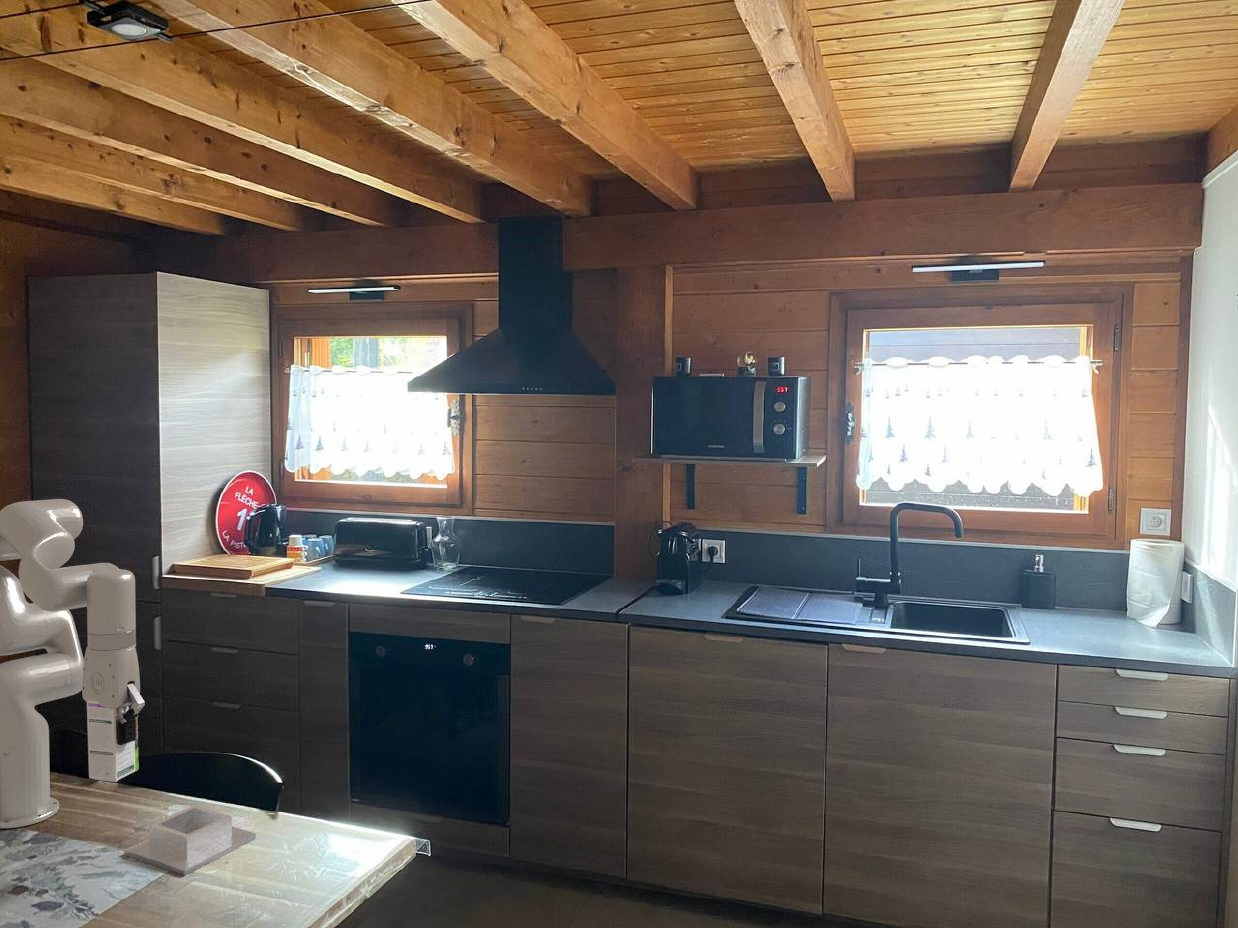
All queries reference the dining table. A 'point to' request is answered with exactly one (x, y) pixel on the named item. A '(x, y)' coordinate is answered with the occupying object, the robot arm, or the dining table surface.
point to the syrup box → (108, 745)
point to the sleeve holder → (189, 840)
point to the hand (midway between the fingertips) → (113, 737)
